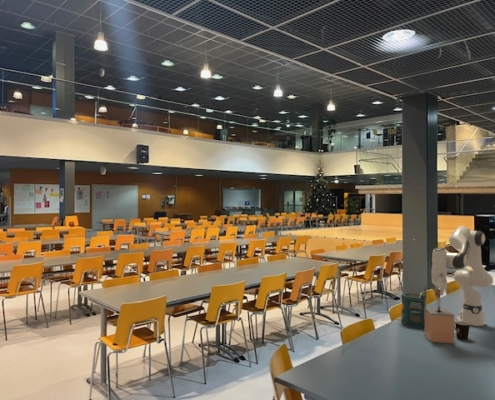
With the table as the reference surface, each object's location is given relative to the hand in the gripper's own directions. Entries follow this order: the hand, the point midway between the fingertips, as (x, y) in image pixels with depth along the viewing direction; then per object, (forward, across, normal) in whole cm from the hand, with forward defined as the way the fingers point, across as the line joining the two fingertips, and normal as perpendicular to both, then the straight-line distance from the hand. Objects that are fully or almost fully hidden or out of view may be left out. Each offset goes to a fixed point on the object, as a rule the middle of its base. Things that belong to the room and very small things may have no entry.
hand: (439, 293), depth 252 cm
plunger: (+15, 0, 0) cm, 15 cm away
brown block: (+30, 0, 0) cm, 30 cm away
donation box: (+30, +32, +8) cm, 45 cm away
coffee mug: (+30, +6, -16) cm, 34 cm away
